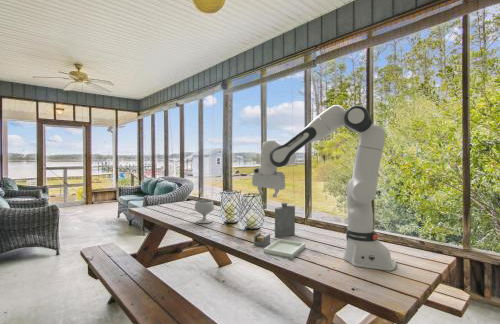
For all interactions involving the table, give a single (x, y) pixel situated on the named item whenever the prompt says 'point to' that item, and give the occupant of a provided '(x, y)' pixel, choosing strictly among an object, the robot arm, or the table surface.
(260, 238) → the block
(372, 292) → the table surface
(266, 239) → the caddy
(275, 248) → the tray
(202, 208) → the chalice
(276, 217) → the hip flask
